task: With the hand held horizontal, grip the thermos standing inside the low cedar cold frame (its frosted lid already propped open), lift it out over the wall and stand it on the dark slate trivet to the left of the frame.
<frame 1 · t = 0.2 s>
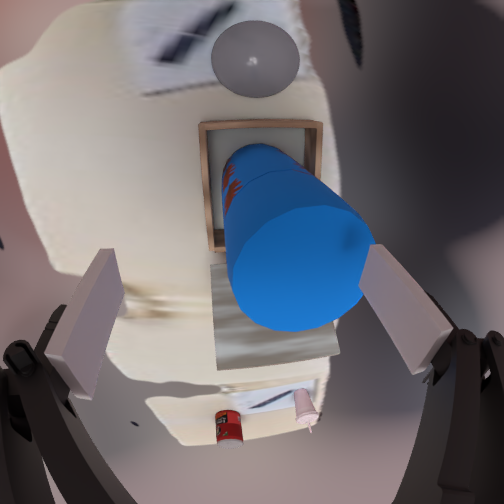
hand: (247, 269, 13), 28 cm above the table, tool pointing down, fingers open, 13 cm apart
canned food: (227, 414, 75), on the table
thermos: (257, 177, 40), resting in cold frame
cold frame: (258, 178, 40), on the table
smoothie: (300, 391, 72), on the table
trivet: (255, 58, 30), on the table
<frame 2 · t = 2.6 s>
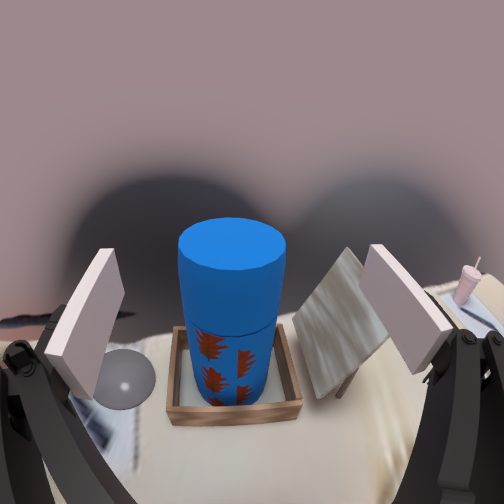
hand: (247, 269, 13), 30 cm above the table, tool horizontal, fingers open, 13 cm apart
thermos: (230, 382, 40), resting in cold frame
cold frame: (230, 381, 39), on the table
smoothie: (457, 301, 58), on the table
trivet: (120, 378, 37), on the table
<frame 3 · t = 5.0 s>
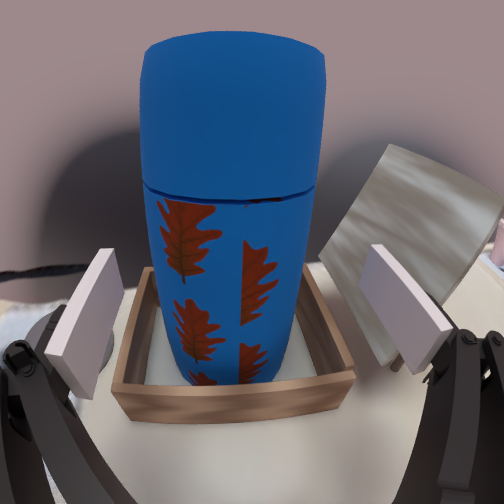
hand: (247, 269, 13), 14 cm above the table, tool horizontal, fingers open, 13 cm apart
thermos: (228, 353, 26), resting in cold frame
cold frame: (228, 352, 26), on the table
smoothie: (495, 262, 44), on the table
trivet: (65, 345, 23), on the table
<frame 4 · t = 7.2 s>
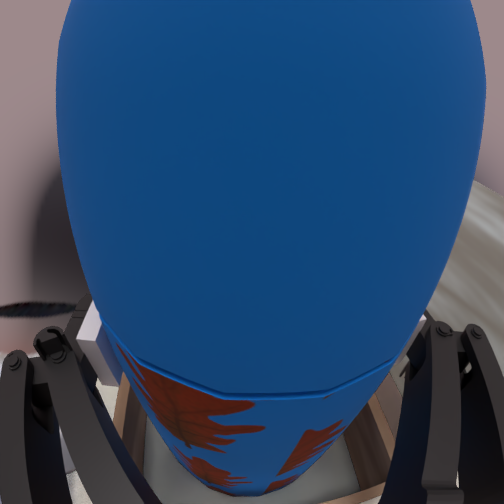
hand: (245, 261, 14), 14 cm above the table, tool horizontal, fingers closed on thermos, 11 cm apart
thermos: (244, 439, 18), resting in cold frame, touching gripper
cold frame: (244, 439, 18), on the table
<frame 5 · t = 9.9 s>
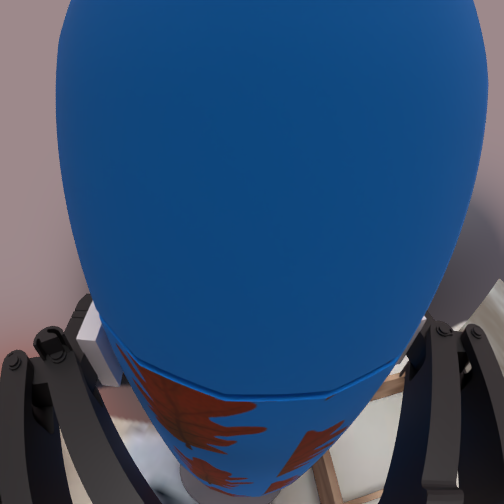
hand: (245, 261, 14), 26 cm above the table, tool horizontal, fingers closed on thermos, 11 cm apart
thermos: (245, 440, 18), point 12 cm above the table, touching gripper
cold frame: (375, 444, 26), on the table
trivet: (232, 470, 24), on the table
when the fingers open (16 cm above the table, at t = 12.6 s): thermos stays where it is, resting on trivet.
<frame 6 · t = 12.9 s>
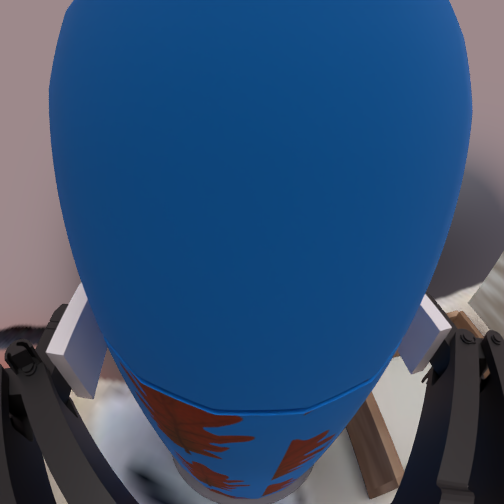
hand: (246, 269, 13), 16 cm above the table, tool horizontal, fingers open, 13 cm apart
thermos: (245, 444, 18), resting on trivet
cold frame: (419, 404, 21), on the table
trivet: (244, 444, 19), on the table
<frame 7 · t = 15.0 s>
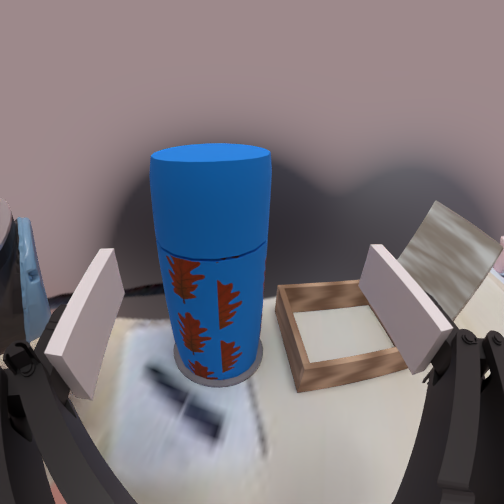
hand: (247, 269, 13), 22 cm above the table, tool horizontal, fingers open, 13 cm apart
thermos: (218, 349, 35), resting on trivet
cold frame: (342, 339, 38), on the table
smoothie: (497, 270, 55), on the table
trivet: (218, 351, 35), on the table
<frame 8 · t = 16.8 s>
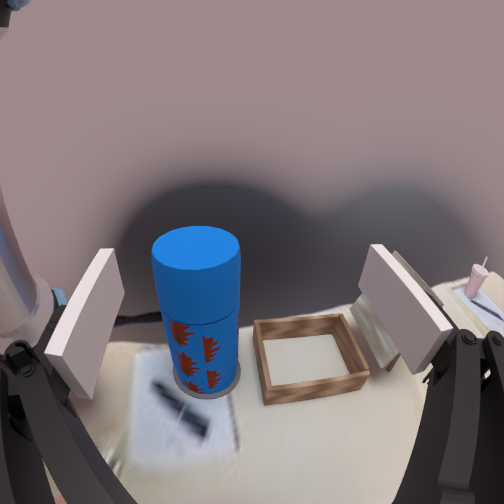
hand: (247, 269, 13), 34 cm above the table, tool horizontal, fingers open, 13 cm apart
thermos: (206, 370, 45), resting on trivet
cold frame: (304, 364, 48), on the table
smoothie: (468, 295, 66), on the table
trivet: (206, 371, 45), on the table
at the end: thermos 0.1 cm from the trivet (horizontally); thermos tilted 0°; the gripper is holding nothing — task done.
